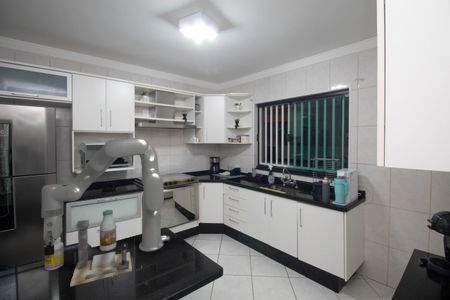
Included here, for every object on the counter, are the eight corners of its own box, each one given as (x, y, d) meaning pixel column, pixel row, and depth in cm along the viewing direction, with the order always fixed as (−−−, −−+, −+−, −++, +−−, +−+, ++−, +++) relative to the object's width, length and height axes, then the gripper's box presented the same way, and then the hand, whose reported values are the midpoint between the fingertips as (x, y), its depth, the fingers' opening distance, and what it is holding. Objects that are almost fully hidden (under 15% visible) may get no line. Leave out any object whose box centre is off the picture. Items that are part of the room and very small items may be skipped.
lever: (128, 263, 93) (128, 240, 92) (129, 267, 90) (129, 243, 90) (118, 265, 91) (118, 242, 91) (118, 269, 88) (118, 245, 88)
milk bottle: (96, 249, 108) (95, 212, 107) (109, 242, 115) (109, 207, 115) (106, 252, 105) (106, 214, 104) (119, 245, 113) (119, 209, 112)
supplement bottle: (41, 268, 92) (41, 240, 92) (59, 260, 98) (58, 234, 97) (49, 272, 89) (48, 243, 88) (66, 264, 95) (66, 237, 94)
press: (129, 254, 104) (129, 212, 103) (131, 270, 91) (131, 223, 90) (77, 265, 94) (76, 219, 93) (70, 286, 81) (69, 232, 80)
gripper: (58, 217, 86) (58, 257, 87) (67, 205, 102) (66, 239, 102) (34, 220, 83) (34, 261, 84) (47, 207, 98) (47, 242, 99)
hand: (52, 249), depth 93 cm, fingers open, 9 cm apart
